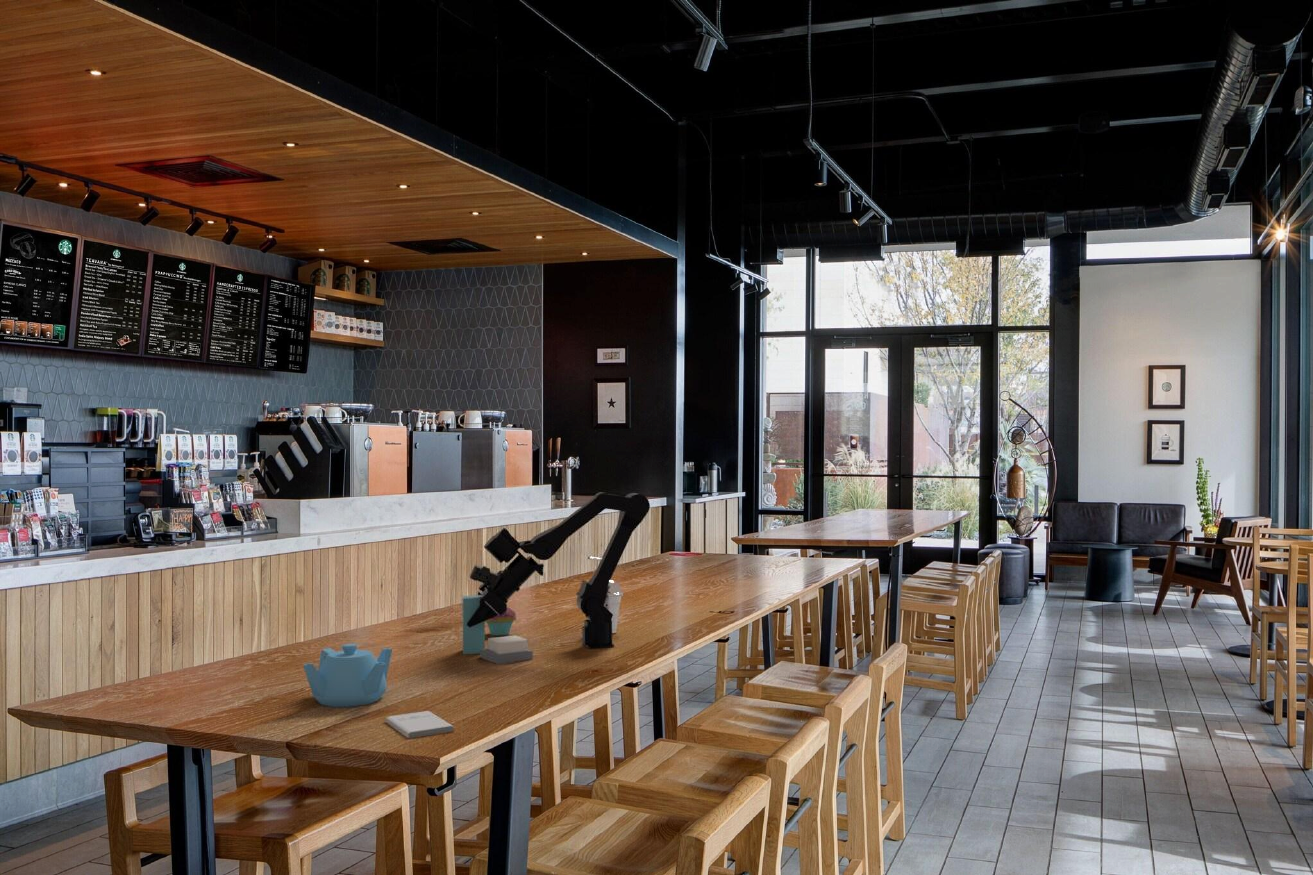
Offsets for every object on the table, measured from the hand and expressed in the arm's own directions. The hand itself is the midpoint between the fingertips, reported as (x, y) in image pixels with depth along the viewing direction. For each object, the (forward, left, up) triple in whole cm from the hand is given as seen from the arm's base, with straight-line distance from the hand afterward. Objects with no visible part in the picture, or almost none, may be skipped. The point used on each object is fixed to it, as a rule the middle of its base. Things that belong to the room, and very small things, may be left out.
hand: (467, 623), depth 254 cm
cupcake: (-11, -21, -7) cm, 25 cm away
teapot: (+29, +39, -7) cm, 49 cm away
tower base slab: (-7, +10, -7) cm, 15 cm away
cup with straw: (-38, -14, -7) cm, 41 cm away
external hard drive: (+18, +63, -7) cm, 66 cm away
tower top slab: (-8, +10, -5) cm, 14 cm away
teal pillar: (-1, 0, -7) cm, 7 cm away
